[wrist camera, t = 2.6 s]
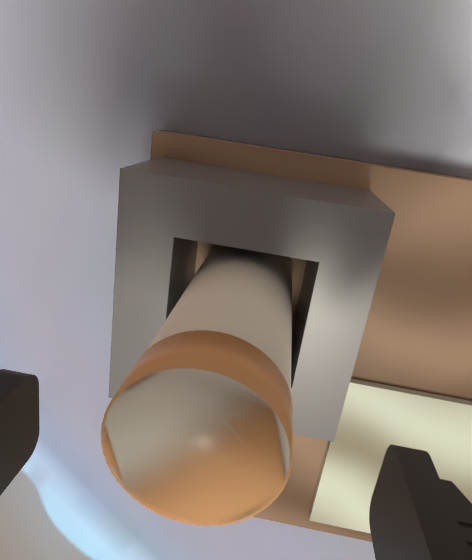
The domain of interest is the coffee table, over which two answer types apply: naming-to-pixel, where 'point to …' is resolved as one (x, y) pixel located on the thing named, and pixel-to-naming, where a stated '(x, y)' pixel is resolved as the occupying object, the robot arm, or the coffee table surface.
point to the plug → (211, 397)
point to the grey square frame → (256, 237)
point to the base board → (379, 334)
